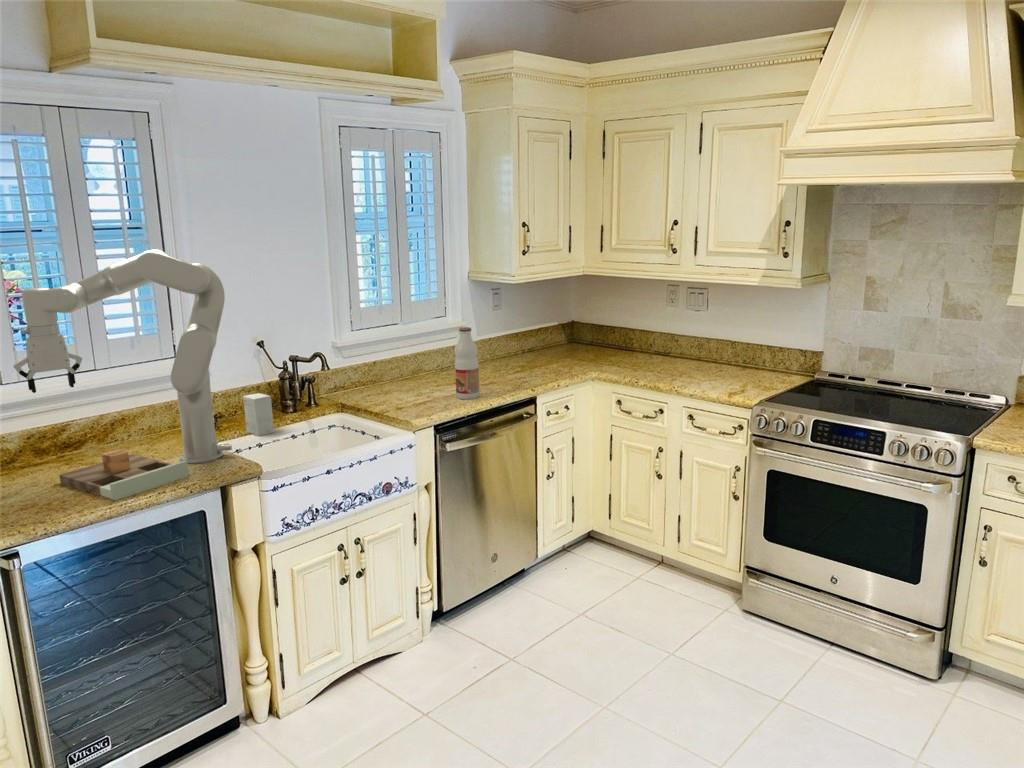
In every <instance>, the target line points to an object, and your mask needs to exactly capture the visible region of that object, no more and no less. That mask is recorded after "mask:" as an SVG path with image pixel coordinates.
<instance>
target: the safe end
mask: <svg viewBox="0 0 1024 768" xmlns="http://www.w3.org/2000/svg"><path fill="white" fill-rule="evenodd" d="M170 464H171V465H168V466H165V467H161V468H158V469H155V470H152V471H149V472H145V473H142V474H139V475H136V476H132V477H129V478H126V479H123V480H119V481H116V482H113V483H110V484H108V485H105V486H102V487H100V493H101V495H102V496H101V497H103V496H105V497H104V498H106V497H108V498H107V499H109V498H110V499H109V500H113V501H118V500H120V499H123V498H128V497H130V496H133V495H137V494H139V493H142V492H145V491H149V490H152V489H154V488H155V489H156V488H158V487H161V486H163V484H164V485H167V484H169V482H170V483H173V482H175V480H176V481H178V479H179V480H181V479H185V478H187V477H189V476H190V474H189V467H188V466H189V463H187V461H178V462H175V463H170ZM172 481H173V482H172ZM160 485H161V486H160Z"/></svg>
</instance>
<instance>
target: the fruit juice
mask: <svg viewBox="0 0 1024 768" xmlns="http://www.w3.org/2000/svg"><path fill="white" fill-rule="evenodd" d="M458 333H459V339H458V342H457V343H456V345H455V346H454V354H455V361H454V375H455V377H454V379H455V394H456V395H455V396H456V398H457V399H459V400H474V399H477V398H479V397H480V373H479V372H480V371H479V368H480V367H479V360H478V358H477V357H478V347H477V345H476V343H475V342H474V341H473V338H472V334H471V333H472V328H471V327H469V326H468V327H466V326H464V327H459V328H458Z"/></svg>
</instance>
